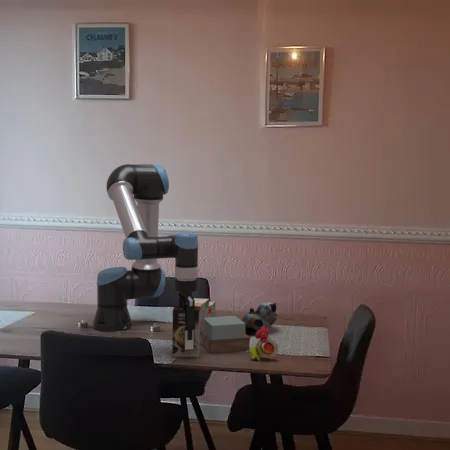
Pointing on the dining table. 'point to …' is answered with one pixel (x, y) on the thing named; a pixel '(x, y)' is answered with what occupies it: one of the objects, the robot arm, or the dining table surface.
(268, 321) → the lucky cat figurine
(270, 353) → the bird rattle
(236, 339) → the walnut slab
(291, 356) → the dining table surface
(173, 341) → the coffee box
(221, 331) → the grey-green block
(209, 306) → the stack of blocks
